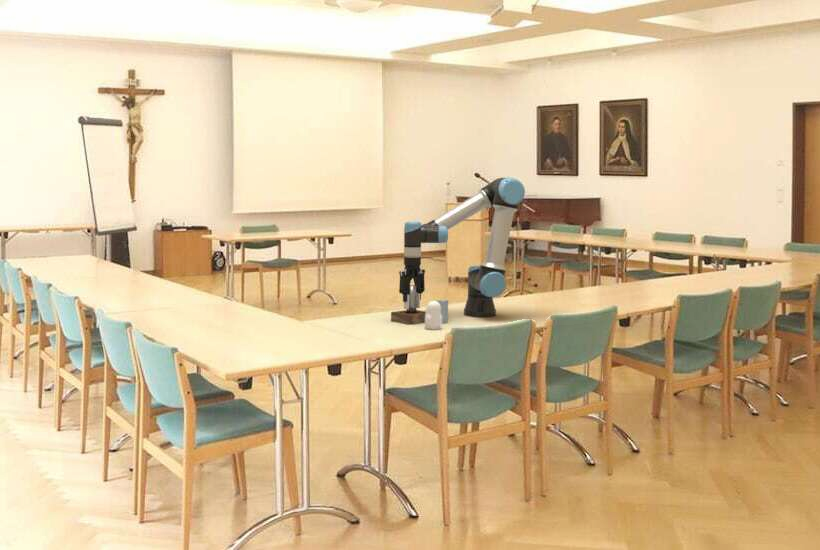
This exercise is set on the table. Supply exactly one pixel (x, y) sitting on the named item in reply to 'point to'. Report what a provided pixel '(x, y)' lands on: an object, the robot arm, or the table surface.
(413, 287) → the round bit
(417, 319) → the socket block
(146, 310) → the table surface
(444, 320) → the square bar
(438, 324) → the figurine
